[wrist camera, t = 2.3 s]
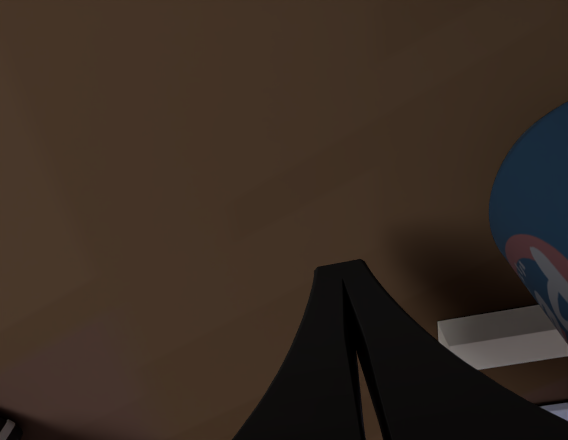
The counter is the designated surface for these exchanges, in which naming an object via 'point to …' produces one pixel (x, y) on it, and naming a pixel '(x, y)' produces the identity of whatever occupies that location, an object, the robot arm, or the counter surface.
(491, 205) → the soda can
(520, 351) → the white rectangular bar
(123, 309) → the counter surface
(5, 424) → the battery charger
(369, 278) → the robot arm
